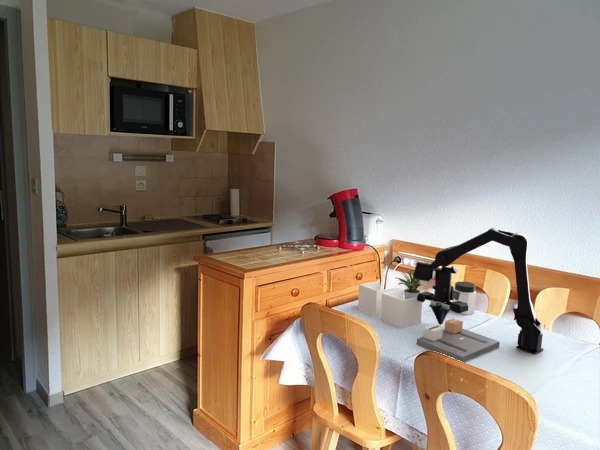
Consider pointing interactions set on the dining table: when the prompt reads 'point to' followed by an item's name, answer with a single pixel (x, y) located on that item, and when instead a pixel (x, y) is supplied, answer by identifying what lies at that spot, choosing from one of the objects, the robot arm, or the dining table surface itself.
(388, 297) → the white cube planter
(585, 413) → the dining table surface
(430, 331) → the left fader
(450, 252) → the robot arm
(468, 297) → the jar
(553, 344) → the dining table surface
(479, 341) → the mixer board
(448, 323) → the right fader
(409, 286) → the house plant
